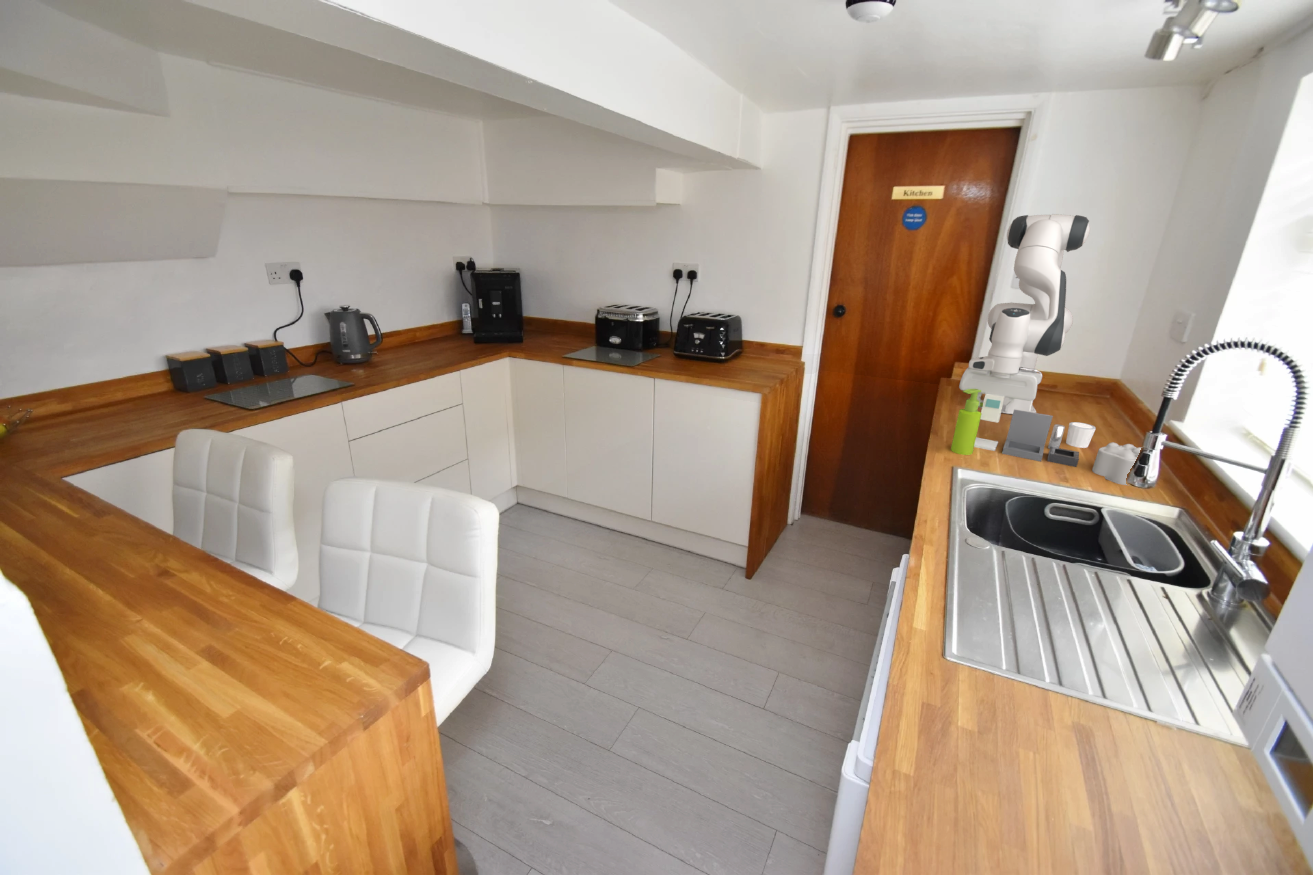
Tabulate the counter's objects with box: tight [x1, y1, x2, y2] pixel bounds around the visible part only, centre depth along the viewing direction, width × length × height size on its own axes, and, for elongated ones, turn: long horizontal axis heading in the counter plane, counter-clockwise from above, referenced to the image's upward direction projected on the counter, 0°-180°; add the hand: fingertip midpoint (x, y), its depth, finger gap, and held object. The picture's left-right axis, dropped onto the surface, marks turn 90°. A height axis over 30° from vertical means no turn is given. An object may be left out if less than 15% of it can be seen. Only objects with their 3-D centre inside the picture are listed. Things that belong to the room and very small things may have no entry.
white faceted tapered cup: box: [1065, 421, 1097, 449], centre depth 179 cm, size 7×7×7 cm
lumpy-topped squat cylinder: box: [1091, 441, 1142, 486], centre depth 158 cm, size 10×13×9 cm
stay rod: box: [1047, 423, 1066, 450], centre depth 176 cm, size 3×3×8 cm
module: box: [980, 394, 1005, 423], centre depth 174 cm, size 5×5×8 cm
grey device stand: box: [1001, 409, 1054, 462], centre depth 171 cm, size 10×10×12 cm
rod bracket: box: [1047, 447, 1080, 468], centre depth 167 cm, size 7×7×3 cm
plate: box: [974, 436, 999, 452], centre depth 179 cm, size 8×7×1 cm
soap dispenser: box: [950, 389, 982, 456], centre depth 169 cm, size 6×7×20 cm
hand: (992, 409), depth 174 cm, fingers closed on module, 5 cm apart
